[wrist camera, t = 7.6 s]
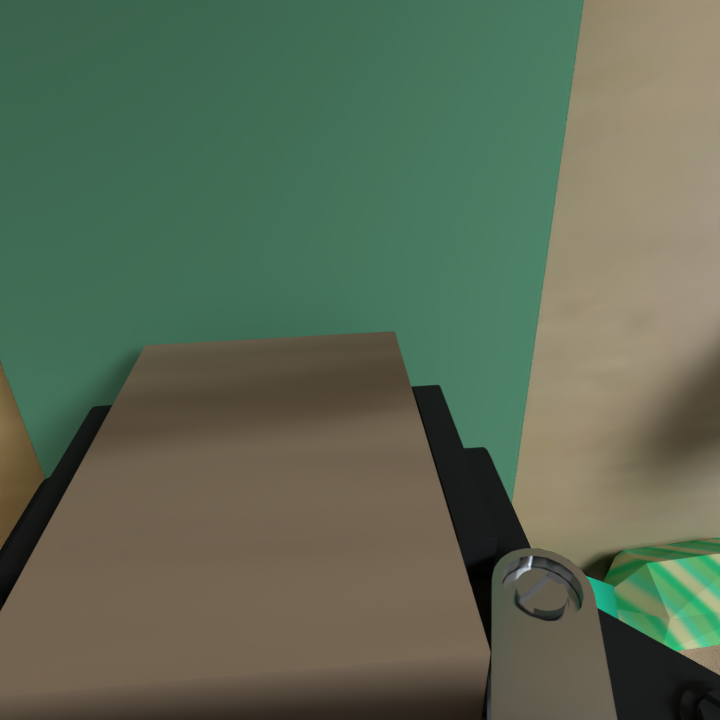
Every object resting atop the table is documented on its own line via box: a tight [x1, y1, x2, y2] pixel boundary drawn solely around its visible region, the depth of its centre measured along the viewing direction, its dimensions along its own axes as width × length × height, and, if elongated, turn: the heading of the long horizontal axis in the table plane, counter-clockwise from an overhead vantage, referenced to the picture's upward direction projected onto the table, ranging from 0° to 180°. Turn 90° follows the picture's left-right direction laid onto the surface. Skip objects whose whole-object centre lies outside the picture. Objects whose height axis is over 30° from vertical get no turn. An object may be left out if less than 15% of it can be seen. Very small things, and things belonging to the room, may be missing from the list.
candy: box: [586, 538, 720, 651], centre depth 21 cm, size 12×3×4 cm
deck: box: [0, 0, 584, 504], centre depth 13 cm, size 26×12×6 cm, turn 1°
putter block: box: [0, 331, 491, 720], centre depth 10 cm, size 6×5×7 cm
